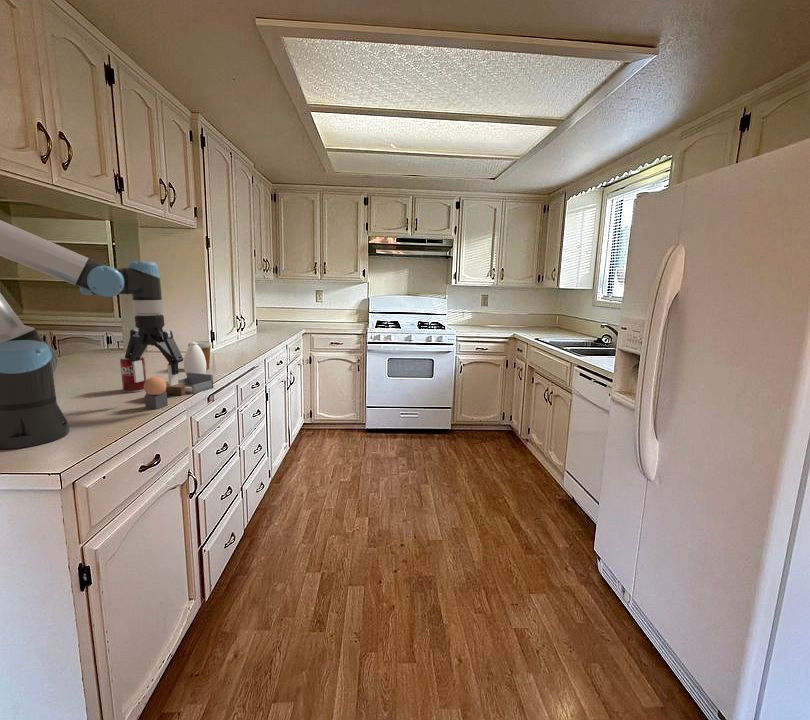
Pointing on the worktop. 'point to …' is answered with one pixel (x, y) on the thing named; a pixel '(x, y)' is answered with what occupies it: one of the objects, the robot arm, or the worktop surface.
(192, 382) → the tray
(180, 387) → the ramp
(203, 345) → the disposable coffee cup
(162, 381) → the ball
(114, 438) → the worktop surface
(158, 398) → the grey cube with hole
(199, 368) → the sauce bottle
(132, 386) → the soda can
